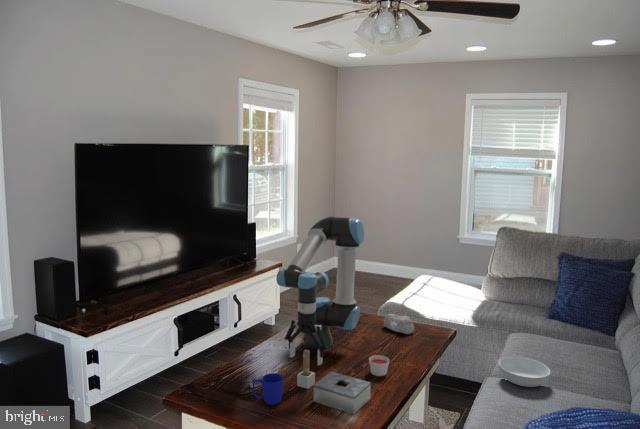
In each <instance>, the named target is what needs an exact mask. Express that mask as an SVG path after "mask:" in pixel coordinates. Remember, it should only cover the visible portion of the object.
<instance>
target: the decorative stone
mask: <svg viewBox="0 0 640 429" xmlns="http://www.w3.org/2000/svg"><path fill="white" fill-rule="evenodd" d="M383 324H384V326H385V327H386V328H387V329H389V330H390V331H391V330H392V331H393V332H397V333H400V334H401V333H402V334H404V335H411V334H413V332H414V331H415V326H414V324H413V321H412V319H411V318H410V317H409V316H406V315H402V316H400V315H397V314H394V313H388V314H386V316H385V317H384V320H383Z"/></svg>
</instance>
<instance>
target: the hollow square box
mask: <svg viewBox="0 0 640 429" xmlns="http://www.w3.org/2000/svg"><path fill="white" fill-rule="evenodd" d="M296 375H297V376H296V378H297V379H296V380H297V381H296V386H297V387H301V388H303V389H306V390H309V389H311V388H312V387H314V384H316V372H313V371H310V370H309V376H308V377H307V376H304V375H303V370H302V371H300V372H299V373H298V374H296Z"/></svg>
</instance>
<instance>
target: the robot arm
mask: <svg viewBox="0 0 640 429" xmlns="http://www.w3.org/2000/svg"><path fill="white" fill-rule="evenodd" d="M364 238H365V227H364V224H363V223H362V220H360V219H357V218H353V217H340V216H339V217H338V216H327V217H324V218H321V219H320V220H318V221H317V222H316V223H315V224H313V225H312V226H311V227H310V229H309V231H308V232H307V238H306V239H305V241H304V242H303V243H302V245H301V246H300V248H299V250H298V251H297V252H296V255H295V256H294V258H293V259H292V260H291V262H290V264H289V265H288V267H287V268H284V269H283V268H281V269H279V270H278V271H277V273H276V284H277V285H278V286H281V287H282V288H283V287H284V288H291V289H297V318H294V319H292V320H291V321H290V323H291V324H290V326H289V328H288V330H287V333H286V334H285V337H284V340H286V341H288V349H289V358H291V359H292V358H293V357H295V356H296V341H295V340H296V338H297V337H298V336H299V335H300V333H301V334H303V337H302V346H304V347H305V348H307V349H310V350H311V349H312V350H317V362H316V363H317V366H321V365H322V364H323V357H325V350H327V349H328V348H330V347H332V346H333V337H332V333H331V331H330V327H331V328H332V327H333V328H338V329H341V330H350V331H351V330H353V329H355V328H356V327H357V324H358V323H359V319H360V317H361V308H360V307H359V305H358V306H357V300H356V299H355V298H354V294H355V293H354V292H355V277H356V276H355V274H356V273H355V272H356V255H357V252H356V251H357V250H358V248H360V244H362V243H363V241H364ZM328 241H333V242H335V247H336V248H337V249H338V250H337V264H336V265H337V270H336V287H335V288H336V289H335V297H334V298H333V299H332V302H331V298H329V297H328V296H321V297H320V296H319V297H317V294H318V293H319V292H321V291H324V290H325V288H327V287H328V285H329V283H330V280H329V276H328V274H326V273H325V272H323V271H317V272H314V273H313V272H307V269H308V268H309V266H310V264H311V263H312V261H313V260H314V258H315V256H316V255H317V253H318V252H319V249H320V248H321V246H322V245H324V244H326V243H327V242H328ZM297 326H298V328H297V329H296V327H297ZM295 329H296V331H295ZM294 331H295V332H294ZM293 332H294V333H293Z"/></svg>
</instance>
